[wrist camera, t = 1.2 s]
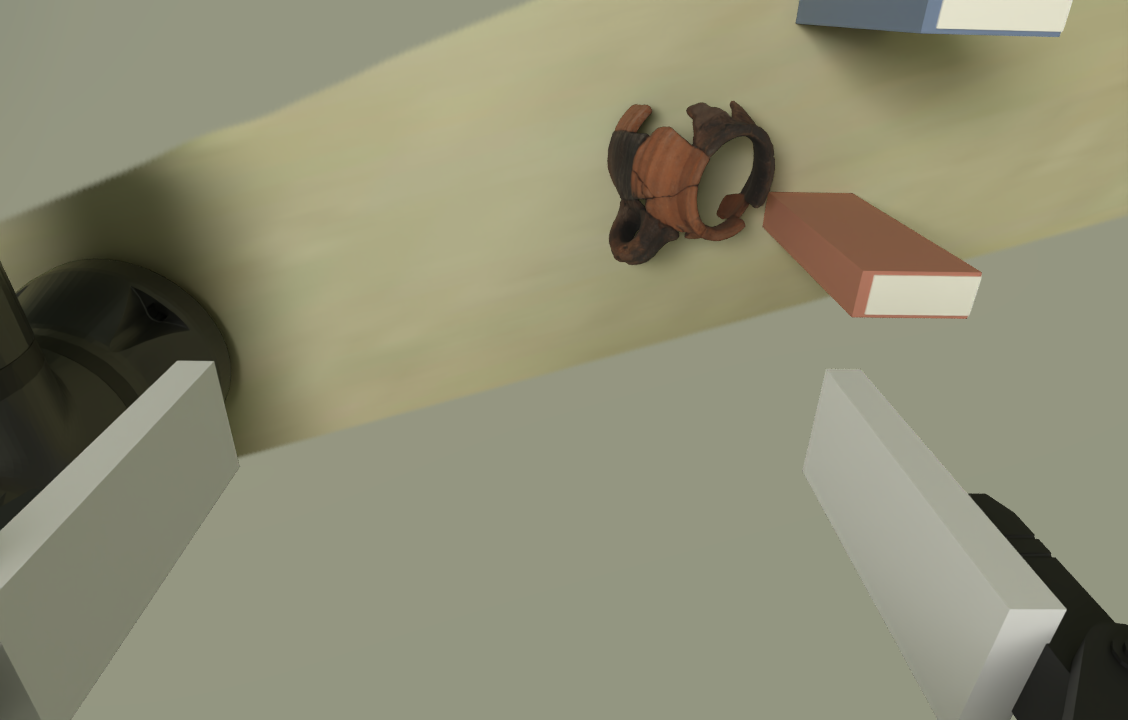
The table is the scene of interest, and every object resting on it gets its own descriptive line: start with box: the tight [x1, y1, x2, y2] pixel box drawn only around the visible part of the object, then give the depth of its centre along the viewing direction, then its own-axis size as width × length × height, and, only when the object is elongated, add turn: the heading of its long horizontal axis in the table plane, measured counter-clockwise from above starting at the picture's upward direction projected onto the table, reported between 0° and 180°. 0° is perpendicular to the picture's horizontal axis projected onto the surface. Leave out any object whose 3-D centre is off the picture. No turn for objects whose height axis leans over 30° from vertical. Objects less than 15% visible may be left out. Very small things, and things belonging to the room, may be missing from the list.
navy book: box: [796, 0, 1073, 37], centre depth 35 cm, size 6×2×16 cm, turn 89°
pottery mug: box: [607, 101, 775, 265], centre depth 45 cm, size 12×9×8 cm
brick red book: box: [763, 192, 982, 319], centre depth 41 cm, size 6×2×16 cm, turn 89°
